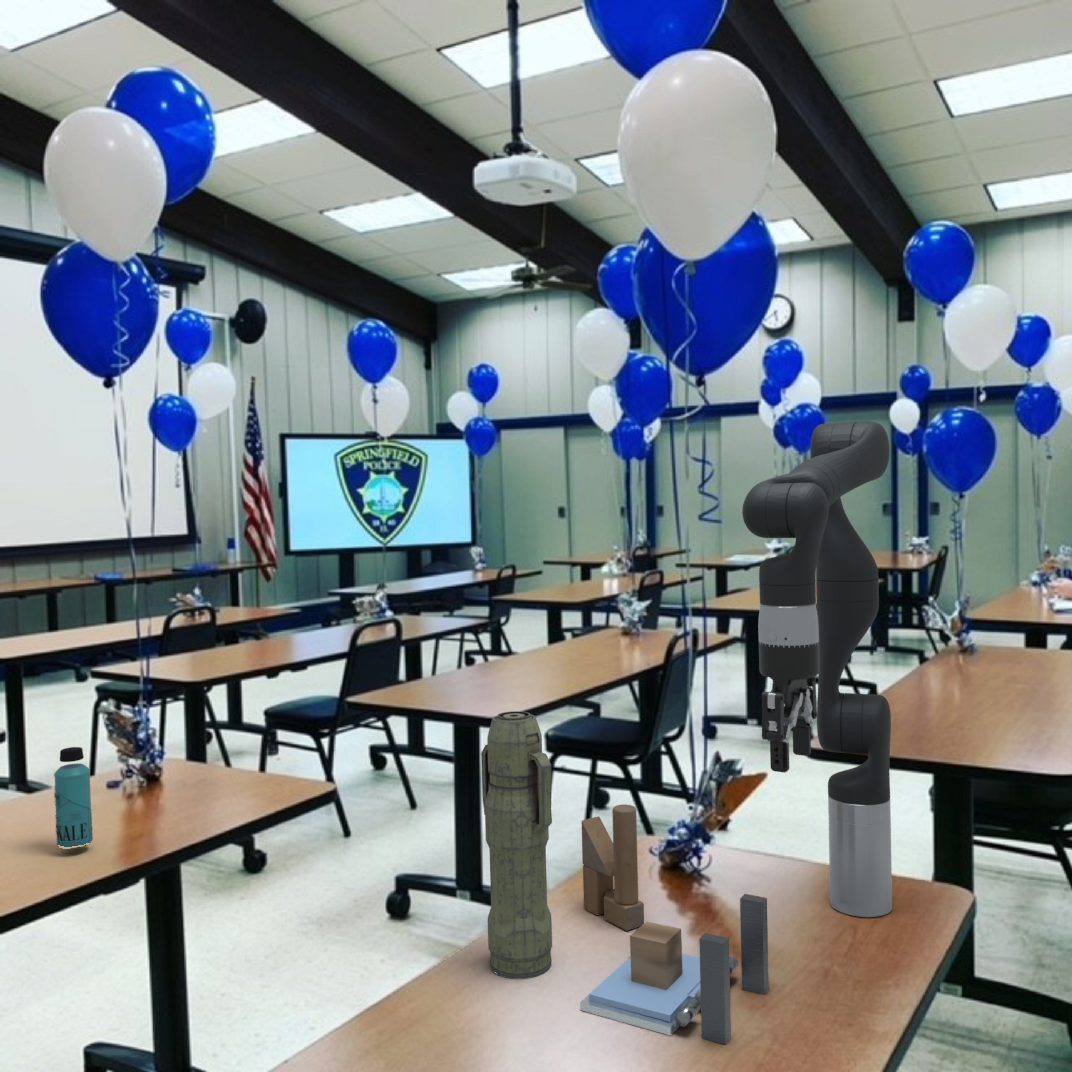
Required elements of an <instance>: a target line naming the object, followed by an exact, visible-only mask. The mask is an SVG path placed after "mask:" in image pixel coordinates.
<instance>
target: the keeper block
mask: <svg viewBox="0 0 1072 1072" xmlns="http://www.w3.org/2000/svg"><path fill="white" fill-rule="evenodd" d="M637 928H638V929H636V930H635V931H634V932H633V933H631V934H630V935H629V945H630V946H629V949H630V952H629V953H630V954H629V955H630V957H631V981H632V982H636V983H640V984H644V985H648V986H652V987H656V988H660V989H664V990H667V989H668V988H669V987H670V986H671V985H672V984H673V983H674V982H675V981H676V980H677V979H678V978H679V977H680V976H681V975H682V974H683V971H682V954H683V945H682V943H683V942H682V928H679V927H674V926H670V925H665V924H660V923H655V922H650V921H644V924H643V925H642V926H640V927H637Z"/></svg>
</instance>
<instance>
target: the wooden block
mask: <svg viewBox="0 0 1072 1072" xmlns="http://www.w3.org/2000/svg"><path fill="white" fill-rule="evenodd" d="M611 811H612V838H611V836H610V834H609V833H608V831H607V829H606V827H605V824H604V823H603V821H602V819H601V817H600V816H594V817H590V818H586V819H583V820H581V849H582V850H581V853H582V860H581V861H582V886H583V909H584V910H586V911H587V912H590V913H591V914H592V915H593V914H594V915H595V916H600V915H603V916H604V917H603V918H604V919H605V921H607V922H609V923H611V924H612V925H615V926H616V927H619V928H620V929H622V930H624V931H627V932H628V931H631V930H633V929H636V928H640V927H641V926H642V925H643V924H644V923H645V908H644V907H645V904H644V902H643V901H641V900H639V877H638V876H639V873H638V868H639V867H638V829H637V828H638V826H637V808H636V807H635V806H634V805H631V804H618V805H614V806H613V807H612V810H611Z"/></svg>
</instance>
